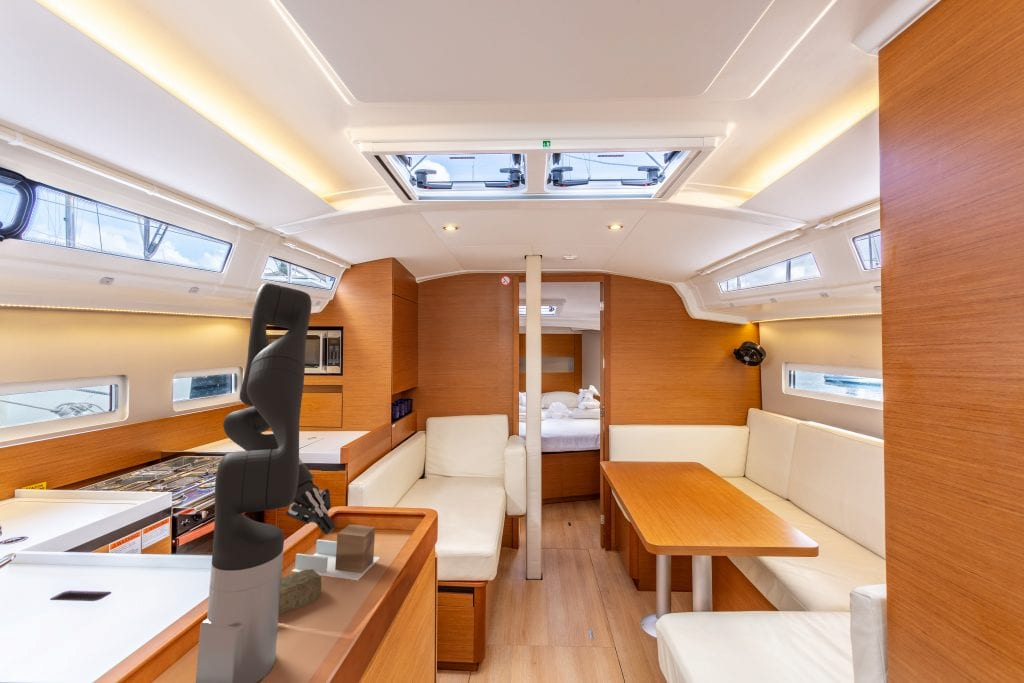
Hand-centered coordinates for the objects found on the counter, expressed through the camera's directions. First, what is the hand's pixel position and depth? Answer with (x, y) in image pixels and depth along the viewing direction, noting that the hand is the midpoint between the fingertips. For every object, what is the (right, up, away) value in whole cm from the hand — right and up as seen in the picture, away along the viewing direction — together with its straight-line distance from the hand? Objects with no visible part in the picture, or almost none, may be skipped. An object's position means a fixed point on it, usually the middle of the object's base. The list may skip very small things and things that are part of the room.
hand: (331, 530), depth 90 cm
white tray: (0, -8, 0) cm, 8 cm away
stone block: (-2, -7, -16) cm, 17 cm away
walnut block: (+6, -7, -1) cm, 10 cm away
